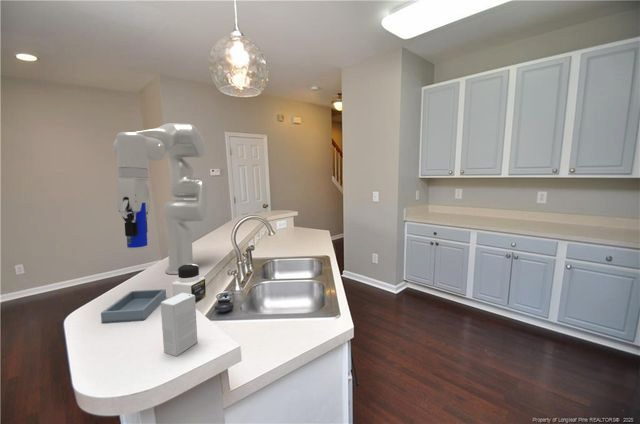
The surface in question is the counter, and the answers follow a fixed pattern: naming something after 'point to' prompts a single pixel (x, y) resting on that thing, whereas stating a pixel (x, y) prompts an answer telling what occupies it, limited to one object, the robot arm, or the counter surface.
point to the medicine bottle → (190, 282)
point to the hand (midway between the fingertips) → (136, 233)
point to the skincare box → (179, 323)
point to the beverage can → (139, 230)
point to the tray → (134, 306)
